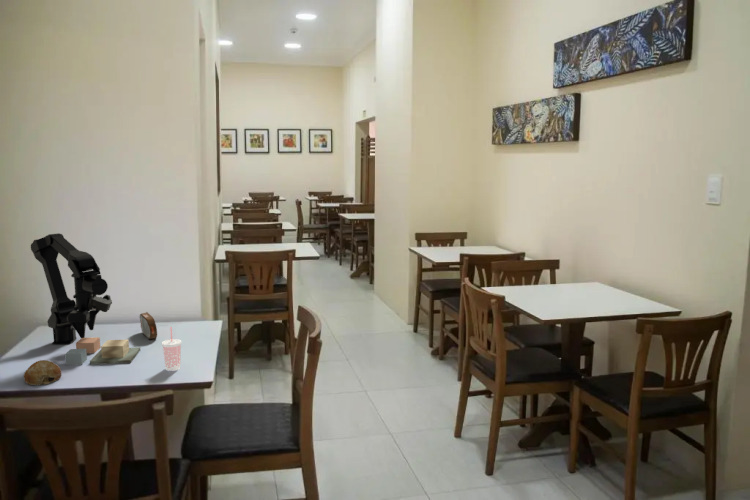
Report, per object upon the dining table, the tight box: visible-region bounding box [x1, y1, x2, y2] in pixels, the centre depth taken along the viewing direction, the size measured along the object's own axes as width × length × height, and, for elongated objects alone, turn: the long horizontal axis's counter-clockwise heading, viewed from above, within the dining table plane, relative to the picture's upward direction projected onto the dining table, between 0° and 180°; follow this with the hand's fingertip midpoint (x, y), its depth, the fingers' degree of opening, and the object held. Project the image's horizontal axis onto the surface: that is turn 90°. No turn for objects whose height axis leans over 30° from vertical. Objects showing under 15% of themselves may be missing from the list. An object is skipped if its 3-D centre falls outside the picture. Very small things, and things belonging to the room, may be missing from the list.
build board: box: [89, 339, 141, 365], centre depth 211 cm, size 13×13×5 cm
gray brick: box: [64, 348, 88, 366], centre depth 206 cm, size 5×5×4 cm
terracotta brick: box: [75, 336, 101, 354], centre depth 218 cm, size 6×6×4 cm
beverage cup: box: [161, 326, 182, 372], centre depth 200 cm, size 6×6×14 cm
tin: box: [139, 311, 158, 340], centre depth 234 cm, size 15×3×8 cm, turn 34°
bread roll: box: [23, 359, 62, 386], centre depth 190 cm, size 10×10×8 cm
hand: (87, 333), depth 217 cm, fingers open, 9 cm apart
